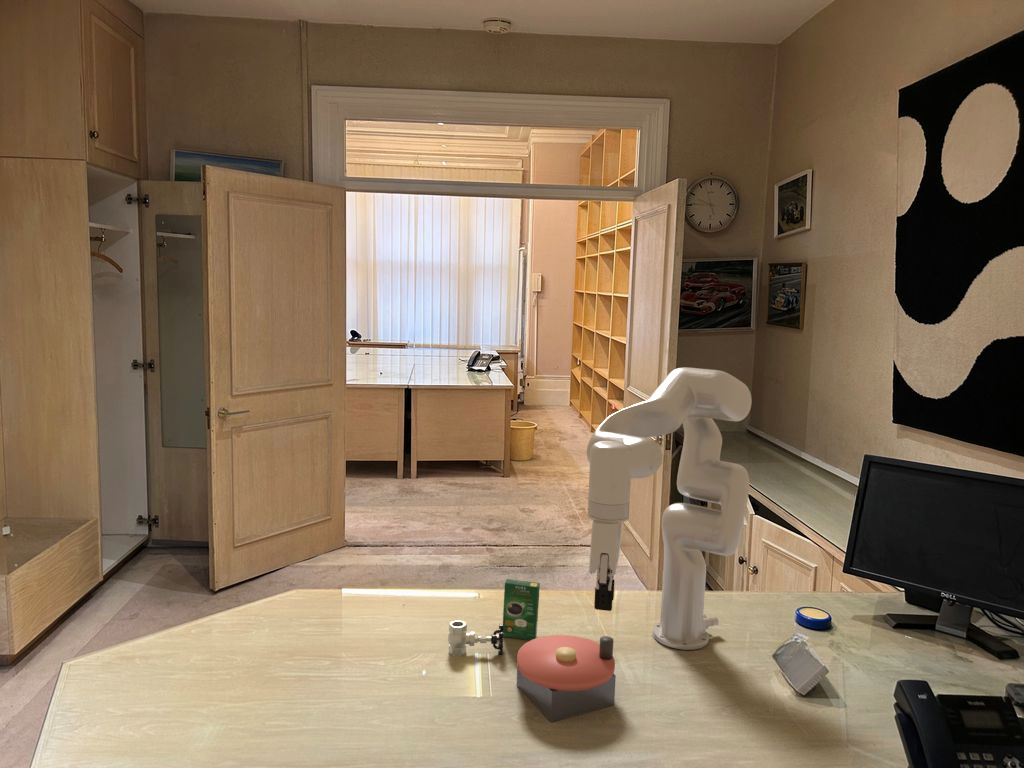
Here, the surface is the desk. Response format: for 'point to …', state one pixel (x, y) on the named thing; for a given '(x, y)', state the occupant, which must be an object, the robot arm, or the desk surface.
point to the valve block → (567, 698)
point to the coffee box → (520, 609)
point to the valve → (471, 638)
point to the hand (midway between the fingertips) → (604, 603)
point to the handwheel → (567, 662)
